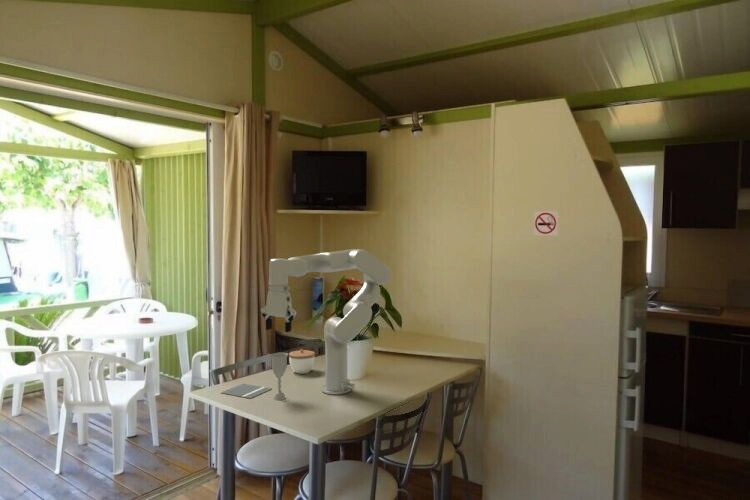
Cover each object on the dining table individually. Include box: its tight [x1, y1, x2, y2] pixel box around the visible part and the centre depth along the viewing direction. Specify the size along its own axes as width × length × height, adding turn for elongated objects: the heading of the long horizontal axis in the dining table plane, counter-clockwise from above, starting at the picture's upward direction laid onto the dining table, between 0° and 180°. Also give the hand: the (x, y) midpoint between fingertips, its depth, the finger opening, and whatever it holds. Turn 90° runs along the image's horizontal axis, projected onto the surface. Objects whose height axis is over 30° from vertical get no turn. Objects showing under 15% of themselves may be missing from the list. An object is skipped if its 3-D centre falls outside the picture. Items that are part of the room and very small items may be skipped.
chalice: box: [270, 352, 289, 401], centre depth 206 cm, size 7×7×18 cm
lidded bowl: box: [288, 348, 316, 375], centre depth 246 cm, size 13×13×11 cm
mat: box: [220, 383, 273, 400], centre depth 215 cm, size 16×14×1 cm
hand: (278, 330), depth 206 cm, fingers open, 9 cm apart
